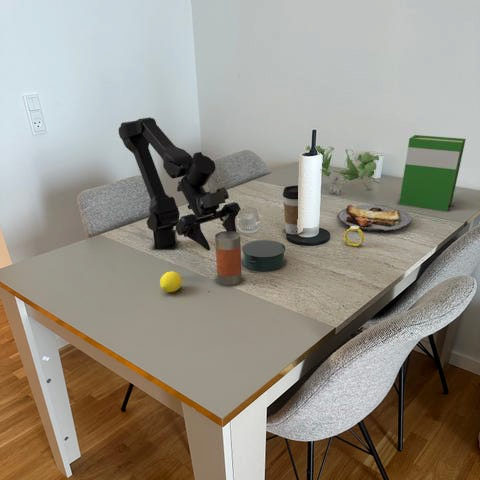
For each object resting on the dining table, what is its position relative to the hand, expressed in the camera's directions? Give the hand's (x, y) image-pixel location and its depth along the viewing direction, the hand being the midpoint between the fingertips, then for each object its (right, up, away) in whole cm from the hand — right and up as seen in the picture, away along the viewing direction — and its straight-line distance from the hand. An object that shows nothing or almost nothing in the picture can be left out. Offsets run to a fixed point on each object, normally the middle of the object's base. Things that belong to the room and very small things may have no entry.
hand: (223, 245), depth 125 cm
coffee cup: (+23, +10, +33) cm, 42 cm away
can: (+2, -9, +4) cm, 10 cm away
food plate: (+51, +14, +39) cm, 66 cm away
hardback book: (+76, +24, +54) cm, 96 cm away
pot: (+11, -3, +13) cm, 17 cm away
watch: (+40, +3, +22) cm, 46 cm away
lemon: (-14, -12, -1) cm, 18 cm away
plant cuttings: (+47, +34, +72) cm, 92 cm away
